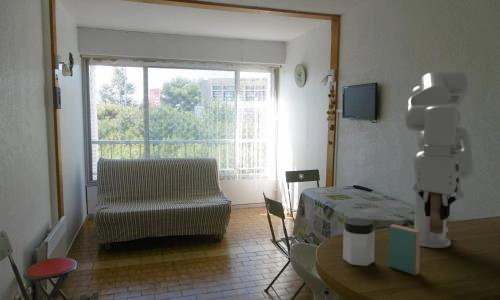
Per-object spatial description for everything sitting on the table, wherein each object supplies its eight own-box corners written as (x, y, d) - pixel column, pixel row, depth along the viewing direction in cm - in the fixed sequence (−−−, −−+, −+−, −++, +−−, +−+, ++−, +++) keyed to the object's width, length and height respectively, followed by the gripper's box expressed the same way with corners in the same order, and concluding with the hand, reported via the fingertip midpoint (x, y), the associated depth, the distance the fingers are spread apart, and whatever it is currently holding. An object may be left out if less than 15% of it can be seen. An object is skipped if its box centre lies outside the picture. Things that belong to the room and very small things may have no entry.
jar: (379, 264, 105) (380, 224, 104) (354, 267, 103) (354, 226, 102) (362, 253, 113) (362, 216, 112) (339, 256, 111) (339, 218, 110)
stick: (432, 228, 102) (434, 187, 101) (445, 231, 100) (446, 189, 98) (427, 231, 100) (428, 189, 99) (439, 234, 98) (441, 191, 96)
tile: (392, 264, 105) (393, 224, 104) (419, 273, 99) (420, 230, 98) (387, 266, 103) (388, 225, 102) (414, 275, 97) (415, 232, 96)
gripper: (478, 152, 93) (475, 221, 95) (415, 148, 106) (414, 208, 108) (466, 155, 89) (463, 227, 91) (402, 150, 102) (401, 213, 104)
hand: (436, 216), depth 99 cm, fingers closed on stick, 3 cm apart
